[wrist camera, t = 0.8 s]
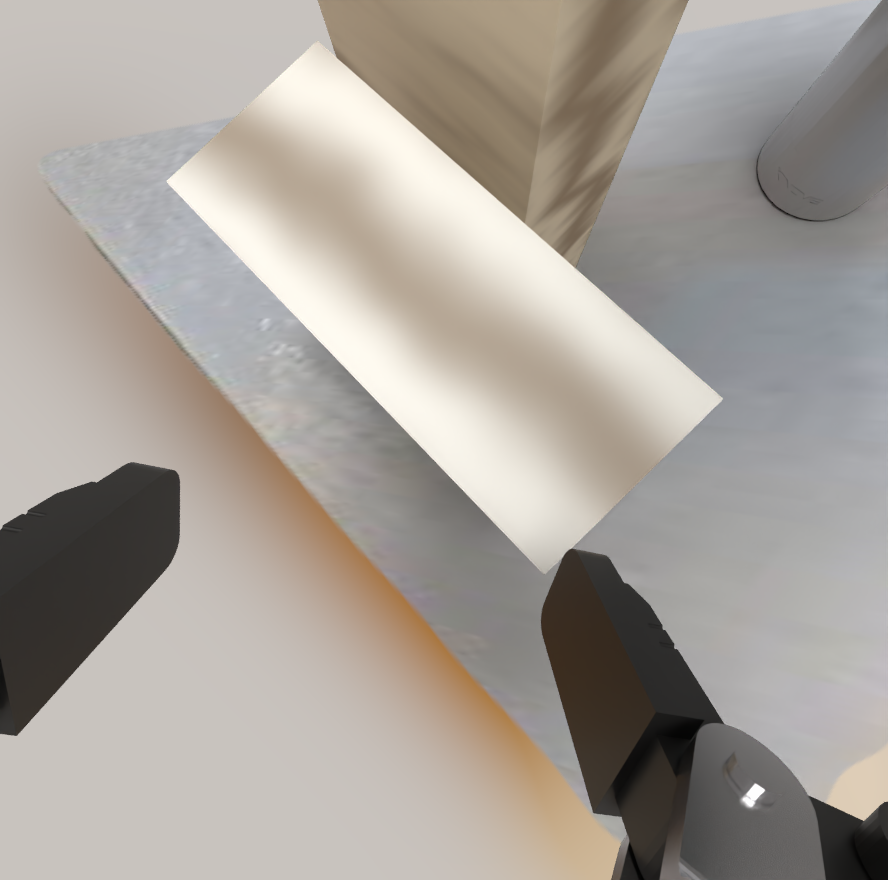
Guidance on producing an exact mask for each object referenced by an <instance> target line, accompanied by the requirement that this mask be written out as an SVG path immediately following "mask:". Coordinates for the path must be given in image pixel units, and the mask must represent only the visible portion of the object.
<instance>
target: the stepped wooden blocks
mask: <svg viewBox="0 0 888 880" xmlns="http://www.w3.org/2000/svg"><path fill="white" fill-rule="evenodd" d="M318 3H319V6H320V8H321V12H322V15H323V17H324V21H325V24H326V26H327V29H328V33H329V36H330V39H331V42H332V45H333V48H334V51H335V54H336V57H337V58H336V57H335V56H334V55H333V54H332V53H330V51H328V50H327V49H326V48H325V47H324V46H323V45H322V44H320V43H319V42H318V41H317V42H316V43H314V44H313V45H312V46H311V47H310V48H309V49H308V50H307V51H306V52H305V53H304V54H303V55H302V56H301V57H299V58H298V59H297V60H296V61H295V62H294V63H293V64H292V65H291V66H290V67H289V68H288V69H287V70H286V71H284V72H283V73H282V74H281V75H280V76H279V77H278V78H277V79H276V80H275V81H274V82H273V83H272V84H270V85H269V86H268V87H267V88H266V89H265V90H264V91H263V92H262V93H261V94H260V95H259V96H258V97H257V98H255V99H254V100H253V101H252V102H251V103H250V104H249V105H248V106H247V107H246V108H245V109H244V110H243V111H241V112H240V113H239V114H238V115H237V116H236V117H235V118H234V119H233V120H232V121H231V122H230V123H229V124H228V125H226V126H225V127H224V128H223V129H222V130H221V131H220V132H219V133H218V134H217V135H216V136H215V137H214V138H212V139H211V140H210V141H209V142H208V143H207V144H206V145H205V146H204V147H203V148H202V149H201V150H200V151H199V152H197V153H196V154H195V155H194V156H193V157H192V158H191V159H190V160H189V161H188V162H187V163H186V164H185V165H184V166H182V167H181V168H180V169H179V170H178V171H177V172H176V173H175V174H174V175H173V176H172V177H171V178H170V179H168V180H167V181H166V182H167V183H168V184H169V185H170V186H171V187H172V188H173V189H174V190H175V191H176V192H177V193H178V194H179V195H180V196H181V197H182V198H183V200H184V201H185V202H186V203H187V204H188V205H189V206H190V207H191V208H192V209H193V210H194V211H195V212H196V213H197V214H198V215H199V216H200V217H201V218H202V219H203V220H204V221H205V222H206V223H207V225H208V226H209V227H210V228H211V229H212V230H213V231H214V232H215V233H216V234H217V235H218V236H219V237H220V238H221V239H222V240H223V241H224V242H225V243H226V244H227V245H228V246H229V247H230V248H231V249H232V251H233V252H234V253H235V254H236V255H237V256H238V257H239V258H240V259H241V260H242V261H243V262H244V263H245V264H246V265H247V266H248V267H249V268H250V269H251V270H252V271H253V272H254V273H255V274H256V276H257V277H258V278H259V279H260V280H261V281H262V282H263V283H264V284H265V285H266V286H267V287H268V288H269V289H270V290H271V291H272V292H273V293H274V294H275V295H276V296H277V297H278V298H279V299H280V300H281V302H282V303H283V304H284V305H285V306H286V307H287V308H288V309H289V310H290V311H291V312H292V313H293V314H294V315H295V316H296V317H297V318H298V319H299V320H300V321H301V322H302V323H303V324H304V325H305V327H306V328H307V329H308V330H309V331H310V332H311V333H312V334H313V335H314V336H315V337H316V338H317V339H318V340H319V341H320V342H321V343H322V344H323V345H324V346H325V347H326V348H327V349H328V350H329V352H330V353H331V354H332V355H333V356H334V357H335V358H336V359H337V360H338V361H339V362H340V363H341V364H342V365H343V366H344V367H345V368H346V369H347V370H348V371H349V372H350V373H351V374H352V375H353V376H354V378H355V379H356V380H357V381H358V382H359V383H360V384H361V385H362V386H363V387H364V388H365V389H366V390H367V391H368V392H369V393H370V394H371V395H372V396H373V397H374V398H375V399H376V400H377V401H378V403H379V404H380V405H381V406H382V407H383V408H384V409H385V410H386V411H387V412H388V413H389V414H390V415H391V416H392V417H393V418H394V419H395V420H396V421H397V422H398V423H399V424H400V425H401V426H402V428H403V429H404V430H405V431H406V432H407V433H408V434H409V435H410V436H411V437H412V438H413V439H414V440H415V441H416V442H417V443H418V444H419V445H420V446H421V447H422V448H423V449H424V450H425V451H426V452H427V454H428V455H429V456H430V457H431V458H432V459H433V460H434V461H435V462H436V463H437V464H438V465H439V466H440V467H441V468H442V469H443V470H444V471H445V472H446V473H447V474H448V475H449V476H450V477H451V479H452V480H453V481H454V482H455V483H456V484H457V485H458V486H459V487H460V488H461V489H462V490H463V491H464V492H465V493H466V494H467V495H468V496H469V497H470V498H471V499H472V500H473V501H474V502H475V503H476V505H477V506H478V507H479V508H480V509H481V510H482V511H483V512H484V513H485V514H486V515H487V516H488V517H489V518H490V519H491V520H492V521H493V522H494V523H495V524H496V525H497V526H498V527H499V528H500V530H501V531H502V532H503V533H504V534H505V535H506V536H507V537H508V538H509V539H510V540H511V541H512V542H513V543H514V544H515V545H516V546H517V547H518V548H519V549H520V550H521V551H522V552H523V553H524V555H525V556H526V557H527V558H528V559H529V560H530V561H531V562H532V563H533V564H534V565H535V566H536V567H537V568H538V569H539V570H540V571H541V572H542V573H543V574H544V575H545V574H546V573H547V572H548V571H549V570H550V569H551V568H552V567H553V566H554V565H555V564H556V563H557V562H558V561H559V560H560V559H561V558H562V557H563V556H564V555H565V553H566V552H567V551H568V550H569V549H572V548H573V547H574V546H575V545H576V544H577V543H578V542H579V541H580V540H581V539H582V538H583V537H584V536H585V535H586V534H587V533H588V532H589V531H590V530H591V529H592V528H593V527H594V526H595V525H596V524H597V523H598V522H599V521H600V520H601V519H602V518H603V517H604V516H605V515H606V514H607V513H608V512H609V511H610V510H611V509H612V508H613V507H614V506H615V505H616V504H617V503H618V502H619V501H620V500H621V499H622V498H623V497H624V496H625V495H626V494H627V493H628V492H629V491H630V490H631V489H632V488H633V487H634V486H635V485H636V484H637V483H639V482H640V481H641V480H642V479H643V478H644V477H645V476H646V475H647V474H648V473H649V472H650V471H651V470H652V469H653V468H654V467H655V466H656V465H657V464H658V463H659V462H660V461H661V460H662V459H663V458H664V457H665V456H666V455H667V454H668V453H669V452H670V451H671V450H672V449H673V448H674V447H675V446H676V445H677V444H678V443H679V442H680V441H681V440H682V439H683V438H684V437H685V436H686V435H687V434H688V433H689V432H690V431H691V430H692V429H693V428H694V427H695V426H696V425H697V424H698V423H699V422H700V421H701V420H702V419H703V418H704V417H705V416H706V415H708V414H709V413H710V412H711V411H712V410H713V409H714V408H715V407H716V406H717V405H718V404H719V403H720V402H721V401H722V400H723V398H722V397H721V396H719V395H718V394H717V393H716V392H715V391H714V390H713V389H712V388H710V387H709V386H708V385H707V384H706V383H705V382H704V381H702V380H701V379H700V378H699V377H698V376H697V375H696V374H695V373H693V372H692V371H691V370H690V369H689V368H688V367H687V366H685V365H684V364H683V363H682V362H681V361H680V360H679V359H678V358H676V357H675V356H674V355H673V354H672V353H671V352H670V351H668V350H667V349H666V348H665V347H664V346H663V345H662V344H661V343H659V342H658V341H657V340H656V339H655V338H654V337H653V336H651V335H650V334H649V333H648V332H647V331H646V330H645V329H644V328H642V327H641V326H640V325H639V324H638V323H637V322H636V321H634V320H633V319H632V318H631V317H630V316H629V315H628V314H627V313H625V312H624V311H623V310H622V309H621V308H620V307H619V306H617V305H616V304H615V303H614V302H613V301H612V300H611V299H610V298H608V297H607V296H606V295H605V294H604V293H603V292H602V291H600V290H599V289H598V288H597V287H596V286H595V285H594V284H593V283H591V282H590V281H589V280H588V279H587V278H586V277H585V276H583V275H582V274H581V273H580V272H579V271H578V270H577V269H576V266H577V263H578V261H579V258H580V256H581V254H582V251H583V249H584V247H585V244H586V242H587V239H588V237H589V235H590V232H591V230H592V228H593V225H594V223H595V221H596V218H597V216H598V213H599V211H600V209H601V206H602V204H603V202H604V199H605V197H606V194H607V192H608V190H609V187H610V185H611V183H612V180H613V178H614V176H615V173H616V171H617V168H618V166H619V164H620V161H621V159H622V157H623V154H624V152H625V150H626V147H627V145H628V142H629V140H630V138H631V135H632V133H633V131H634V128H635V126H636V123H637V121H638V119H639V116H640V114H641V112H642V109H643V107H644V105H645V102H646V100H647V97H648V95H649V93H650V90H651V88H652V86H653V83H654V81H655V78H656V76H657V74H658V71H659V69H660V67H661V64H662V62H663V60H664V57H665V55H666V52H667V50H668V48H669V45H670V43H671V41H672V38H673V36H674V34H675V31H676V29H677V26H678V24H679V21H680V19H681V17H682V15H683V12H684V10H685V7H686V5H687V3H688V0H318Z"/></svg>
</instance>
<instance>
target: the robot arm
mask: <svg viewBox="0 0 888 880" xmlns="http://www.w3.org/2000/svg"><path fill="white" fill-rule="evenodd" d="M757 169H758V177H759V181H760V184H761V186H762V189H763V190H764V192H765V193H766V195H767V196H768V198H769V199H770V200H771V201H772V202H773V203H774V204H775V205H776V206H777V207H779V208H780V209H782V210H783V211H785V212H787V213H789V214H791V215H794V216H796V217H799V218H803V219H809V220H829V219H834V218H838V217H841V216H843V215H846V214H849V213H850V212H852V211H853V210H855V209H856V208H858V207H859V206H861V205H862V204H863V203H865V202H866V201H867V200H869V199H870V198H871V197H873V196H874V195H875V194H877V193H878V192H879V191H881V190H882V189H883V188H885V187H886V186H887V185H888V0H882V1H881V2H880V3H879V5H878V6H877V7H876V8H875V9H874V11H873V12H872V13H871V14H870V16H869V17H868V18H867V19H866V20H865V22H864V23H863V24H862V25H861V27H860V28H859V29H858V30H857V31H856V33H855V34H854V35H853V36H852V38H851V39H850V40H849V41H848V42H847V44H846V45H845V46H844V47H843V49H842V50H841V51H840V52H839V53H838V55H837V56H836V57H835V58H834V60H833V61H832V62H831V63H830V64H829V66H828V67H827V68H826V69H825V71H824V72H823V73H822V74H821V75H820V77H819V78H818V79H817V80H816V81H815V83H814V84H813V85H812V86H811V88H810V89H809V90H808V91H807V92H806V94H805V95H804V96H803V97H802V98H801V100H800V101H799V102H798V103H797V104H796V106H795V107H794V108H793V109H792V111H791V112H790V113H789V114H788V115H787V117H786V118H785V119H784V120H783V122H782V123H781V124H780V125H779V127H778V128H777V129H776V130H775V131H774V133H773V134H772V135H771V136H770V138H769V139H768V140H767V142H766V143H765V145H764V146H763V148H762V150H761V153H760V155H759V159H758V167H757ZM179 535H180V479H179V475H178V474H177V472H176V471H174V470H170V469H165V468H160V467H155V466H149V465H144V464H139V463H134V462H133V463H132V462H131V463H128V464H126V465H124V466H122V467H121V468H119V469H118V470H116V471H114V472H113V473H111V474H110V475H108V476H107V477H105V478H103V479H102V480H100V481H99V482H97V483H96V482H90V483H87V484H84V485H81V486H77V487H74V488H71V489H69V490H65V491H63V492H59V493H57V494H55V495H53V496H52V497H50V498H48V499H46V500H45V501H43V502H41V503H40V504H38V505H36V506H35V507H33V508H31V509H30V510H28V512H27V514H26V515H25V514H21V515H19V516H18V517H16V518H14V519H13V520H11V521H10V522H8V523H6V524H4V525H3V527H2V529H1V530H0V734H7V735H14V736H17V735H18V734H19V733H20V732H21V731H22V729H23V728H24V727H25V726H26V725H27V724H28V723H29V722H30V720H31V719H32V718H33V717H34V716H35V715H36V714H37V713H38V712H39V710H40V709H41V708H42V707H43V706H44V705H45V704H46V703H47V701H48V700H49V699H50V698H51V697H52V696H53V695H54V694H55V693H56V692H57V690H58V689H59V688H60V687H61V686H62V685H63V684H64V683H65V681H66V680H67V679H68V678H69V677H70V676H71V675H72V674H73V673H74V671H75V670H76V669H77V668H78V667H79V666H80V664H82V662H83V661H84V660H85V659H86V658H87V657H88V656H89V655H90V653H91V652H92V651H93V650H94V649H95V648H96V647H97V645H99V644H100V642H101V641H102V640H103V639H104V638H105V637H106V635H108V633H109V632H110V631H111V630H112V629H113V628H114V627H115V626H116V625H117V623H118V622H119V621H120V620H121V619H122V618H123V617H124V616H125V615H126V613H127V612H128V611H129V610H130V609H131V608H132V607H133V605H134V604H135V603H136V602H137V601H138V600H139V599H140V598H141V597H142V595H143V594H144V593H145V592H146V591H147V590H148V589H149V588H150V587H151V585H152V584H153V583H154V582H155V581H156V580H157V579H158V578H159V577H160V575H161V574H162V573H163V572H164V571H165V569H166V568H167V567H168V566H169V564H170V563H171V561H172V559H173V557H174V555H175V553H176V550H177V547H178V543H179ZM541 629H542V635H543V639H544V642H545V646H546V649H547V653H548V656H549V660H550V663H551V667H552V670H553V674H554V677H555V681H556V684H557V688H558V691H559V695H560V698H561V702H562V705H563V709H564V712H565V716H566V719H567V723H568V726H569V729H570V733H571V736H572V740H573V743H574V747H575V750H576V754H577V757H578V761H579V764H580V768H581V771H582V775H583V778H584V782H585V785H586V789H587V792H588V796H589V799H590V803H591V806H592V810H593V813H596V814H604V815H612V816H620V817H622V820H623V823H624V826H625V829H626V832H627V835H626V837H625V838H624V840H623V841H622V843H621V846H620V848H619V852H618V856H617V859H616V863H615V867H614V871H613V875H612V879H611V880H888V802H884V803H883V804H881V805H880V806H879V807H878V808H877V809H876V810H875V811H874V812H873V813H872V814H871V815H870V816H869V817H868V818H867V819H866V820H865V821H863V820H860V819H858V818H856V817H854V816H852V815H850V814H847V813H845V812H843V811H841V810H839V809H837V808H834V807H832V806H830V805H828V804H826V803H824V802H821V801H819V800H817V799H815V798H813V797H811V796H808V795H807V793H806V791H805V789H804V788H803V787H802V785H801V784H800V782H799V781H798V779H797V778H796V777H795V776H794V774H793V773H792V772H791V771H790V769H789V768H788V767H787V766H786V765H785V764H784V763H783V762H782V761H781V760H780V759H779V758H778V757H777V756H776V755H775V754H774V753H773V752H771V751H770V750H769V749H768V748H767V747H765V746H764V745H763V744H761V743H760V742H759V741H757V740H756V739H754V738H753V737H751V736H750V735H748V734H746V733H744V732H743V731H740V730H738V729H736V728H734V727H731V726H728V725H725V724H724V723H723V721H722V720H721V718H720V716H719V715H718V713H717V712H716V710H715V708H714V707H713V705H712V704H711V702H710V700H709V699H708V697H707V696H706V694H705V692H704V691H703V689H702V688H701V686H700V684H699V683H698V681H697V680H696V678H695V677H694V675H693V673H692V672H691V670H690V669H689V667H688V665H687V664H686V662H685V661H684V659H683V657H682V656H681V654H680V653H679V651H678V650H677V649H674V643H673V642H672V640H671V638H670V637H669V635H668V634H667V632H666V630H663V629H662V624H661V622H660V621H659V619H658V618H657V616H656V614H655V613H654V611H653V610H652V608H651V606H650V605H649V604H648V603H647V602H646V601H645V600H644V599H643V598H642V597H641V596H640V595H639V594H638V593H637V592H636V591H635V590H634V589H633V588H632V587H631V586H630V585H629V584H626V583H624V582H623V581H622V579H621V577H620V576H619V574H618V572H617V570H616V569H615V567H614V565H613V564H612V562H611V560H610V559H609V558H608V557H607V556H606V555H602V554H596V553H591V552H586V551H581V550H576V549H569V550H568V551H567V552H566V553H565V555H564V557H563V559H562V561H561V564H560V566H559V569H558V571H557V573H556V576H555V578H554V581H553V583H552V585H551V588H550V590H549V593H548V595H547V597H546V600H545V602H544V605H543V609H542V615H541Z"/></svg>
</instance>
